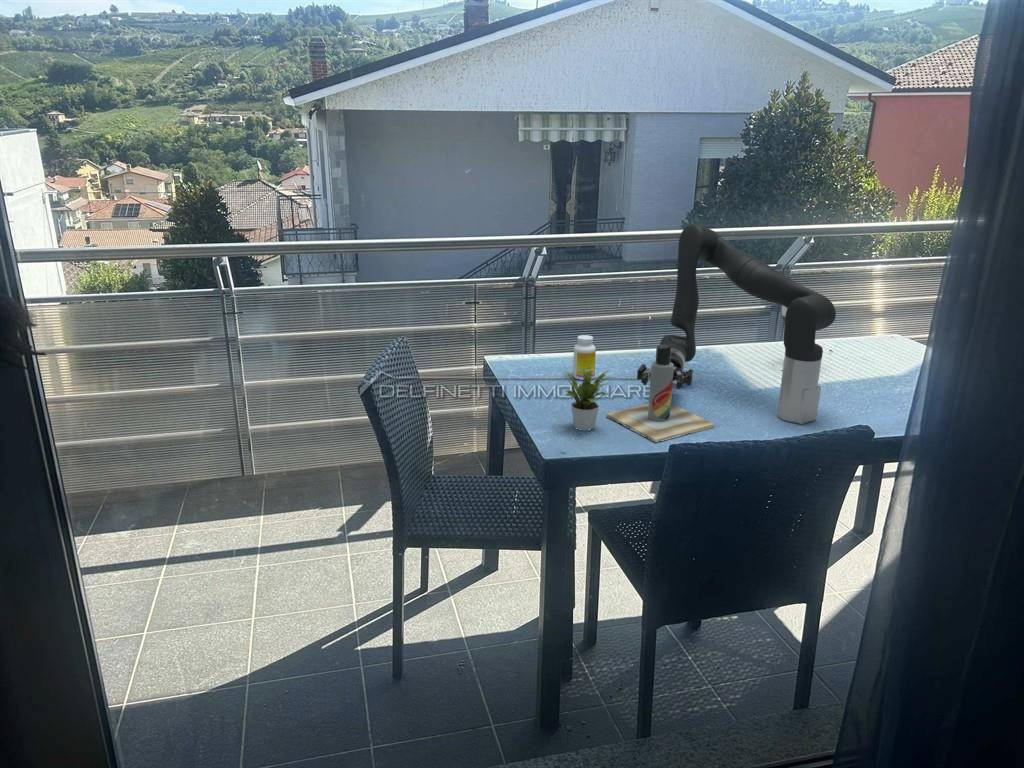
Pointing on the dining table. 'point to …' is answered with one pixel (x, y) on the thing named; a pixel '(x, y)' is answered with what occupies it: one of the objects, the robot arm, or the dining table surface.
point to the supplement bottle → (584, 357)
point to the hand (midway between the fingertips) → (661, 383)
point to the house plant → (585, 400)
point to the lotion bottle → (661, 385)
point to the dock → (657, 430)
